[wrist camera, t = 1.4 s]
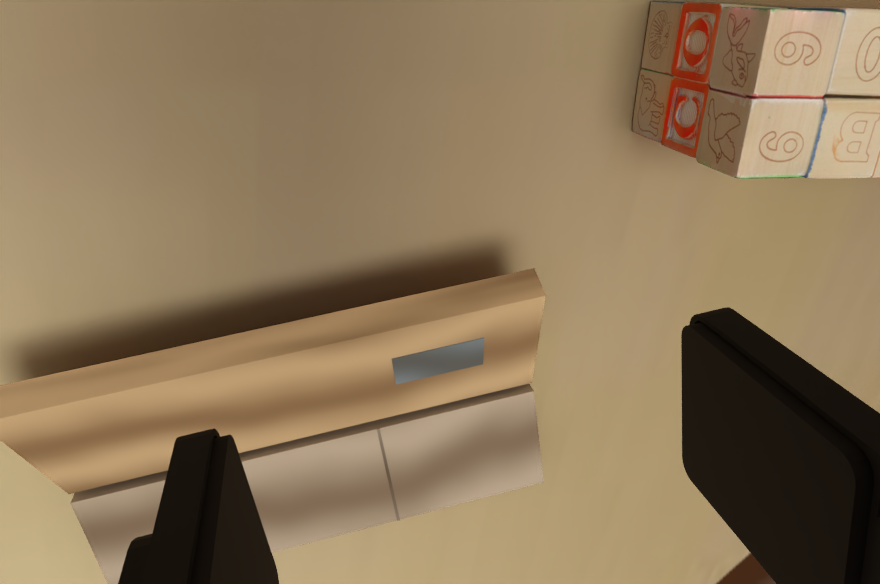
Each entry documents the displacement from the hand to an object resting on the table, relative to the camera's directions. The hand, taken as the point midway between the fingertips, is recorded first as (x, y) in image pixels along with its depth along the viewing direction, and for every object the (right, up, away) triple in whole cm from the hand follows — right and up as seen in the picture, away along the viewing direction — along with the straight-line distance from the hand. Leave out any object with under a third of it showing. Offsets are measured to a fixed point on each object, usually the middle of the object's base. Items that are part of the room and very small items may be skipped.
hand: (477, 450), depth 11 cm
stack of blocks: (+19, +14, +25) cm, 35 cm away
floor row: (-7, -8, +28) cm, 30 cm away
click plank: (-8, -1, +23) cm, 24 cm away
